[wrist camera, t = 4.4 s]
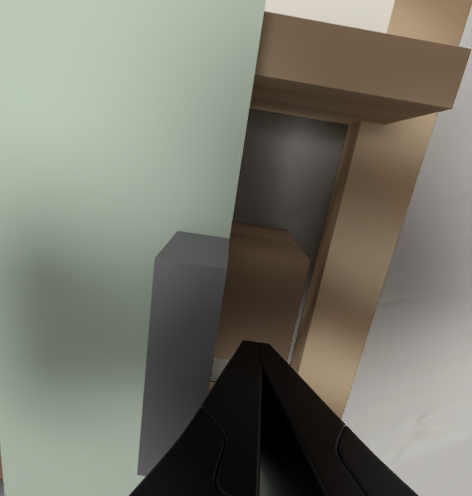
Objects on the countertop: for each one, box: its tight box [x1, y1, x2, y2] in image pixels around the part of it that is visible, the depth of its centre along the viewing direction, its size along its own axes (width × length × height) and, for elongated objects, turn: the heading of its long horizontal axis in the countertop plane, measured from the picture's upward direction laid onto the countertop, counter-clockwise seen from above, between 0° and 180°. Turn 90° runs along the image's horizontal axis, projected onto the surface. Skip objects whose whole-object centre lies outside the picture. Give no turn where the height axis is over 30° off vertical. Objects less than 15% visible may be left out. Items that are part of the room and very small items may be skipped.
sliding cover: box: [0, 0, 266, 496], centre depth 8 cm, size 19×7×3 cm, turn 171°
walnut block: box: [214, 222, 310, 362], centre depth 13 cm, size 4×4×5 cm
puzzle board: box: [0, 0, 472, 480], centre depth 12 cm, size 28×23×6 cm
